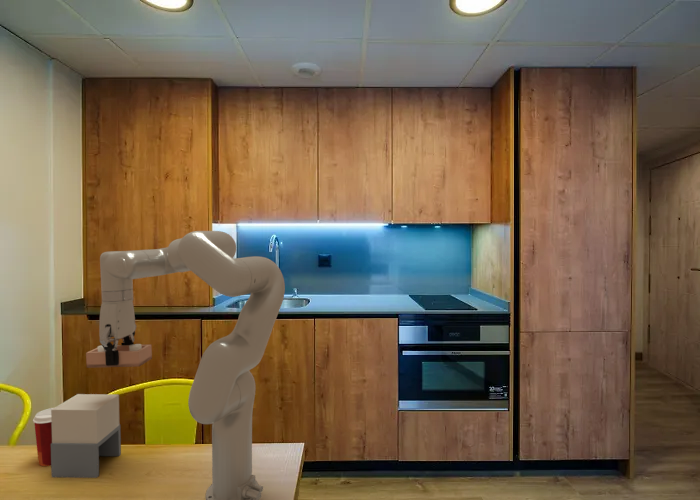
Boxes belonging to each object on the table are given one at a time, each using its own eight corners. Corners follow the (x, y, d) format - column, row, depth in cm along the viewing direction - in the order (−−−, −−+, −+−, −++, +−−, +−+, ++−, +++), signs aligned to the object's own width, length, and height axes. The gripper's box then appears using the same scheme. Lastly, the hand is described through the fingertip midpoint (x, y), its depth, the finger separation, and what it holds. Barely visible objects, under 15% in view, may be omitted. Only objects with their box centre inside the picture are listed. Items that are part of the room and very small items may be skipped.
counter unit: (120, 454, 120) (119, 393, 120) (96, 477, 109) (95, 411, 108) (80, 453, 120) (78, 393, 120) (51, 477, 109) (49, 410, 108)
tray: (151, 358, 117) (151, 341, 117) (139, 366, 110) (138, 348, 110) (102, 359, 117) (101, 342, 116) (86, 367, 110) (85, 349, 110)
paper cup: (74, 454, 120) (72, 407, 120) (52, 469, 113) (51, 419, 112) (49, 452, 121) (48, 405, 120) (26, 467, 113) (24, 417, 113)
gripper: (121, 292, 121) (123, 352, 122) (83, 301, 104) (86, 371, 104) (146, 291, 121) (149, 351, 122) (113, 301, 104) (116, 370, 105)
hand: (120, 360), depth 113 cm, fingers closed on tray, 7 cm apart
